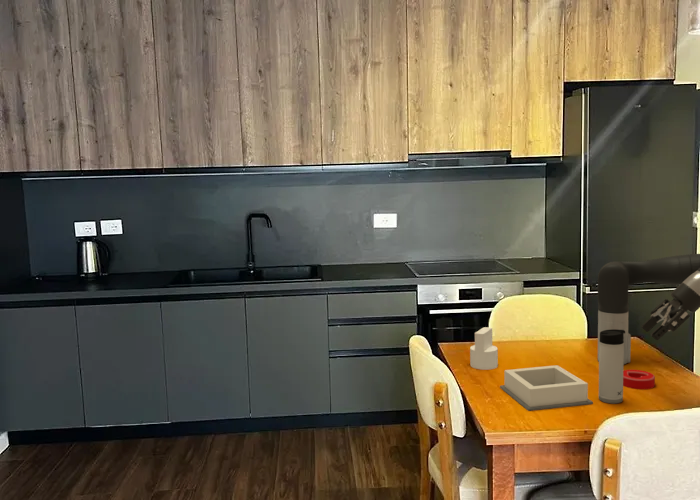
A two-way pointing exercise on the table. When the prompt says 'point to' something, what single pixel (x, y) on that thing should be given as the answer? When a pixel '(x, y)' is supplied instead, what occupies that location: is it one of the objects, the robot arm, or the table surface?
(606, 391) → the travel mug
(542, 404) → the square shallow tray
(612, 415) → the table surface
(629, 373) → the decorative ornament
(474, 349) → the cylinder with rectangular tab
